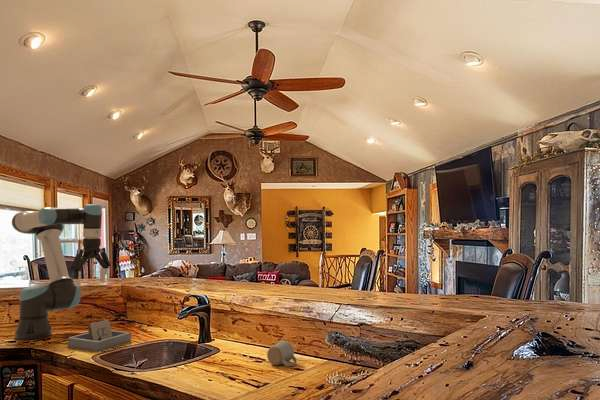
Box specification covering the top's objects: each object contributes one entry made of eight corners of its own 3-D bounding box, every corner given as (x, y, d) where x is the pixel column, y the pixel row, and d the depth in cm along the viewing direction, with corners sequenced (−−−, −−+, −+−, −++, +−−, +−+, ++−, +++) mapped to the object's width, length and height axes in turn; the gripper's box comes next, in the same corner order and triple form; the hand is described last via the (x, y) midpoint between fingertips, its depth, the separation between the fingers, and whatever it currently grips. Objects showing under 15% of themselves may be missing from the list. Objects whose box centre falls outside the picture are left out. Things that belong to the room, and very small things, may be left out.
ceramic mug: (265, 364, 175) (265, 343, 175) (278, 359, 182) (278, 339, 182) (289, 369, 169) (289, 348, 170) (301, 363, 176) (301, 343, 177)
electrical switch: (94, 345, 200) (93, 323, 201) (87, 345, 202) (86, 323, 203) (113, 340, 208) (112, 319, 209) (105, 340, 211) (104, 319, 212)
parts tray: (67, 347, 201) (67, 337, 201) (101, 337, 217) (101, 328, 217) (97, 352, 193) (98, 342, 193) (130, 341, 209) (130, 332, 210)
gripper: (73, 239, 203) (72, 288, 203) (119, 237, 226) (117, 281, 225) (62, 238, 207) (60, 287, 206) (107, 236, 229) (106, 280, 229)
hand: (90, 284), depth 216 cm, fingers open, 13 cm apart
